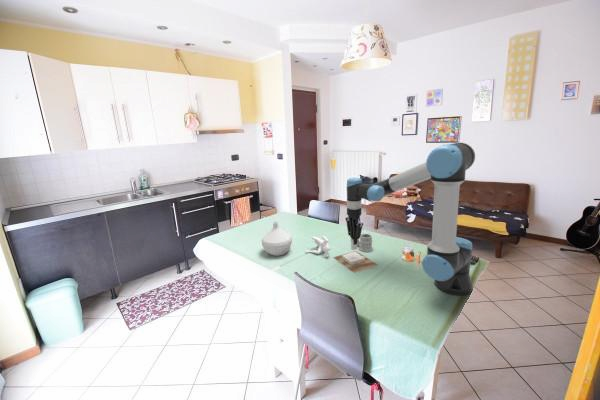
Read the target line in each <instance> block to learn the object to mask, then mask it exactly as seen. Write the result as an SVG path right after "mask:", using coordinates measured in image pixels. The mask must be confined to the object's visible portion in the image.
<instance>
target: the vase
mask: <svg viewBox="0 0 600 400" xmlns="http://www.w3.org/2000/svg"><path fill="white" fill-rule="evenodd" d="M272 225H273V226H272V229H271V230H269V231H268V232H267V233H266V234H265V235H263V236H262V237H261V246H262V247H263V249H264V251H265V252H266V253H267V254H269V255H271V256H275V257H276V256H282V255H284V254H286V253H288V251H289V250H290V249H291V246H292V243H293V237H292V236H291V234H290V233H288V232H286V231H284V230H282V229H281V228H280V227H279V222H278V221H274V222H272Z"/></svg>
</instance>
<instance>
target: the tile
mask: <svg viewBox="0 0 600 400" xmlns="http://www.w3.org/2000/svg"><path fill="white" fill-rule="evenodd" d="M352 252H353V253H351V252H348V253H349V254H347V253H344V254H345V255H343V254H341V255H342V259H343V260H345V261H346V262H348V263H349V264H351V265H353V264H357V263H360V262H364V261H365V258H364V257H363V256H364V255H363V256H361V255H359V254H358V253H359V252H358V253H356V252H354V251H352Z"/></svg>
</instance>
